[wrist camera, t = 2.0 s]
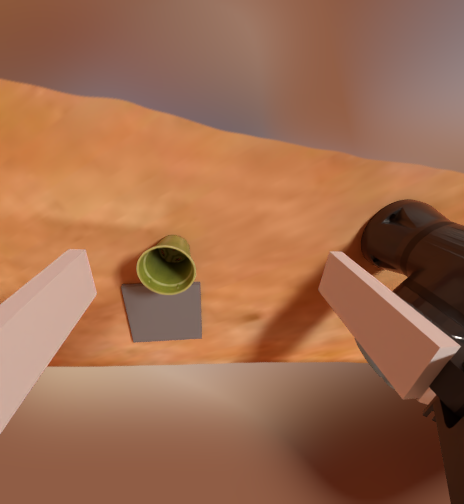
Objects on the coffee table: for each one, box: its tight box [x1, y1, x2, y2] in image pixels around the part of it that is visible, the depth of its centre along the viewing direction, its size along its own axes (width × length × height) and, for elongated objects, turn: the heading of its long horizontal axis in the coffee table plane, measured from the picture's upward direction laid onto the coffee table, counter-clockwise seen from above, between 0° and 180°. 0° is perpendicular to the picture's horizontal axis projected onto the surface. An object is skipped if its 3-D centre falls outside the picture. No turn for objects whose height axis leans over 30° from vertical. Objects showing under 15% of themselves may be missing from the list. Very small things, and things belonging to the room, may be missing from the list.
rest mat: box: [121, 282, 202, 342], centre depth 49 cm, size 16×16×1 cm
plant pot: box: [136, 235, 196, 295], centre depth 39 cm, size 9×9×9 cm
